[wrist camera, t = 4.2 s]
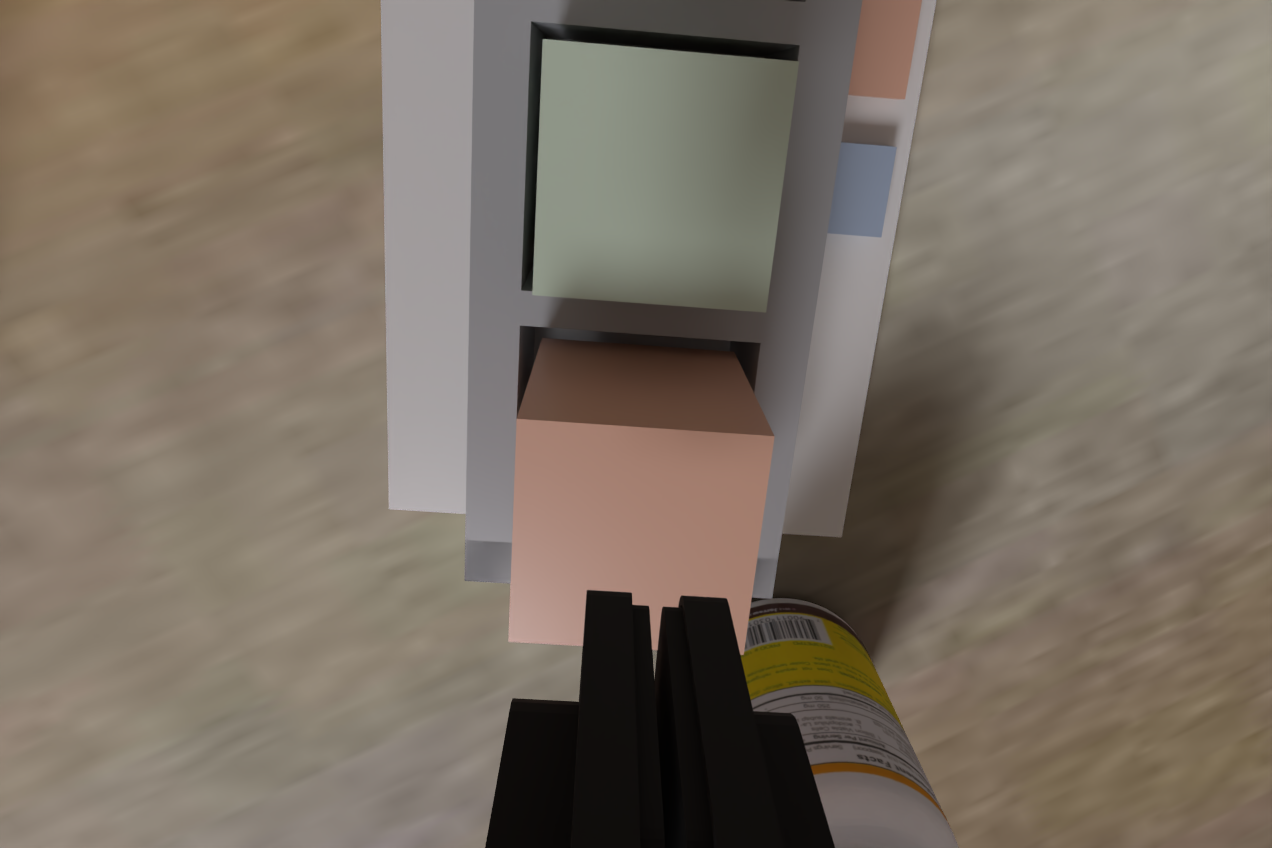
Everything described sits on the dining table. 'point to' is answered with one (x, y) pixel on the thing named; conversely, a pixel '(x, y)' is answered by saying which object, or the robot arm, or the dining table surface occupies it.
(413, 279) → the grey block holder
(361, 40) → the dining table surface
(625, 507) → the pink block
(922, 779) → the supplement bottle
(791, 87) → the key
